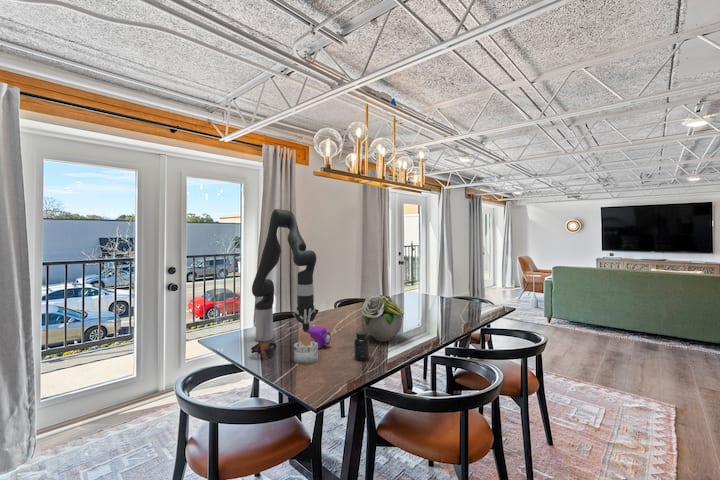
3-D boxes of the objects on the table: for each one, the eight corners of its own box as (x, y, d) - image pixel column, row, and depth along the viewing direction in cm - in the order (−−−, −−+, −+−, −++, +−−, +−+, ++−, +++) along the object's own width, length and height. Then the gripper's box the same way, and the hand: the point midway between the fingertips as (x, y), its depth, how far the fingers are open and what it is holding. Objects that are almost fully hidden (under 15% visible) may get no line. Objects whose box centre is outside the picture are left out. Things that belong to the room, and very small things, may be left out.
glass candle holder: (289, 358, 159) (289, 344, 159) (310, 353, 166) (310, 339, 166) (300, 365, 150) (300, 350, 150) (322, 360, 157) (322, 345, 157)
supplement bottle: (353, 356, 162) (353, 331, 162) (368, 355, 163) (368, 330, 162) (355, 361, 155) (354, 335, 155) (369, 361, 156) (369, 334, 156)
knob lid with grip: (296, 347, 159) (296, 333, 159) (308, 345, 163) (308, 331, 163) (302, 351, 154) (302, 336, 154) (315, 348, 158) (315, 333, 158)
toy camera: (327, 350, 170) (327, 330, 170) (301, 349, 173) (301, 329, 173) (333, 344, 181) (333, 325, 181) (309, 342, 184) (309, 324, 183)
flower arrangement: (353, 343, 181) (352, 297, 181) (369, 331, 204) (369, 290, 204) (398, 349, 172) (398, 300, 171) (410, 335, 195) (410, 292, 195)
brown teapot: (258, 363, 156) (251, 346, 157) (254, 366, 163) (247, 350, 165) (282, 351, 163) (274, 335, 164) (276, 354, 170) (270, 339, 172)
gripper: (313, 291, 165) (314, 327, 165) (288, 294, 157) (289, 331, 157) (321, 293, 159) (322, 330, 159) (296, 296, 151) (296, 335, 151)
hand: (305, 331), depth 158 cm, fingers closed
